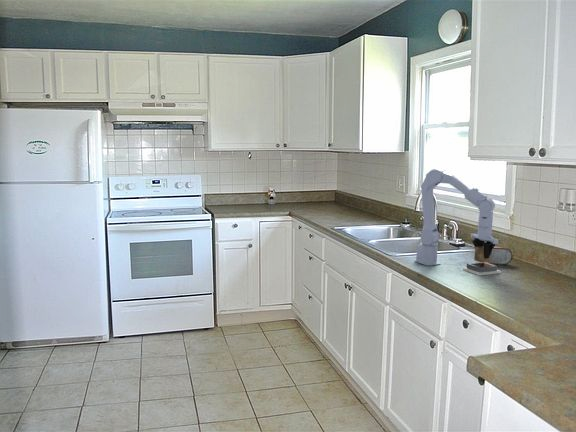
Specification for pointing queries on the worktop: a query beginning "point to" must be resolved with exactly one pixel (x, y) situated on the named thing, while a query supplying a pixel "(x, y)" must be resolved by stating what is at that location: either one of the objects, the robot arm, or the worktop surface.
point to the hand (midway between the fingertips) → (482, 257)
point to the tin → (501, 255)
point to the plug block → (481, 254)
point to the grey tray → (481, 268)
